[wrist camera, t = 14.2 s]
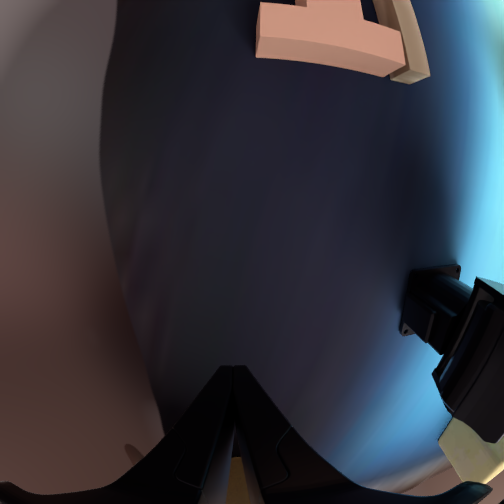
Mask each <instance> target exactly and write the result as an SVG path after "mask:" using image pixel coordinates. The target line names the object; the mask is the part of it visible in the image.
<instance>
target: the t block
mask: <svg viewBox="0 0 504 504" xmlns="http://www.w3.org/2000/svg"><path fill="white" fill-rule="evenodd" d="M256 58H273V59H285V60H295V61H303V62H311V63H317V64H324V65H330V66H335V67H341V68H346V69H351V70H355V71H360V72H364V73H368V74H372V75H376V76H380V77H385V76H386V75H388V74H390V73H392V72H393V71H395V70H397V69H399V68H401V67H403V66H404V65H406V64H405V57H404V51H403V45H402V39H401V34H400V32H399V31H397V30H394V29H391V28H388V27H385V26H382V25H379V24H376V23H373V22H369V21H366V20H364V19H363V13H362V7H361V2H360V0H295V6H294V5H286V4H276V3H263V2H260V8H259V14H258V19H257V25H256Z"/></svg>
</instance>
